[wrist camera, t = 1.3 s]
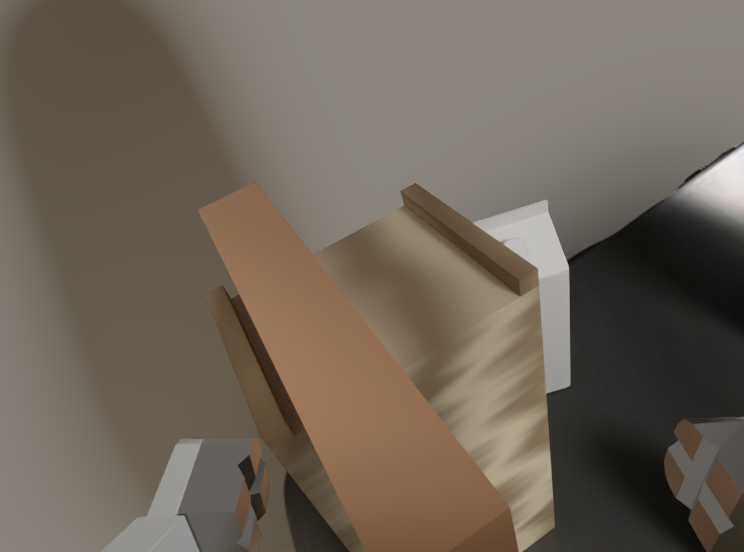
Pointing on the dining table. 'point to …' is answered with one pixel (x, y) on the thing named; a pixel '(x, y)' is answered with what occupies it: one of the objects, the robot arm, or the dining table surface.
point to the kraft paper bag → (426, 353)
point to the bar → (355, 396)
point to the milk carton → (541, 280)
